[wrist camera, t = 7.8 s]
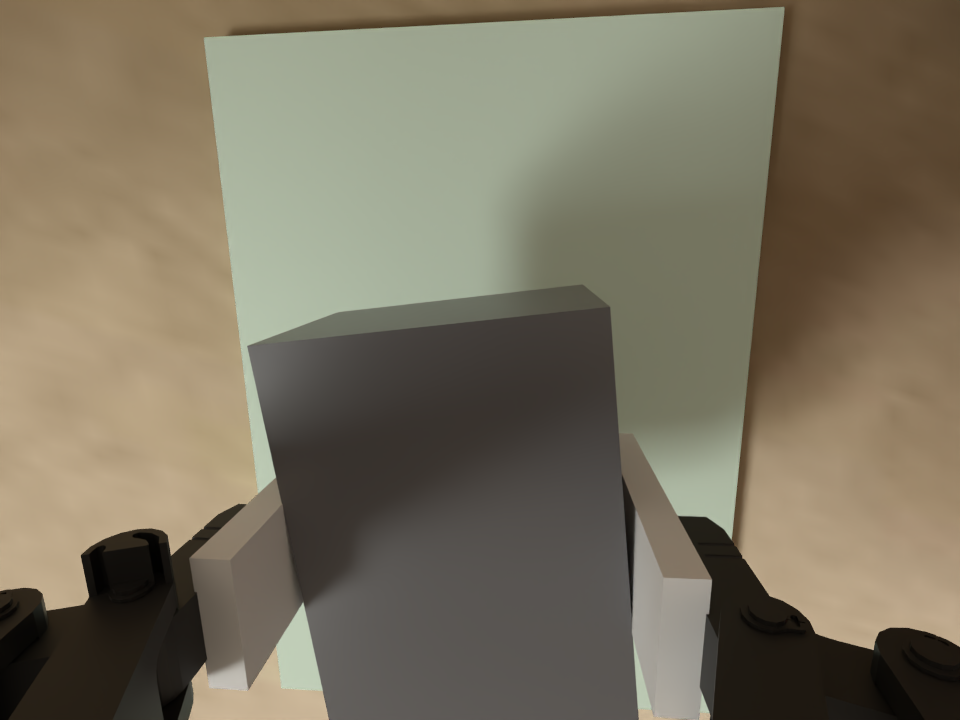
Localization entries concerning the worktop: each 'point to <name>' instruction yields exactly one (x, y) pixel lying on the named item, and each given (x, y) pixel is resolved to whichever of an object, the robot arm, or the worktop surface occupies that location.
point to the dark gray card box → (457, 506)
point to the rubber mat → (515, 203)
